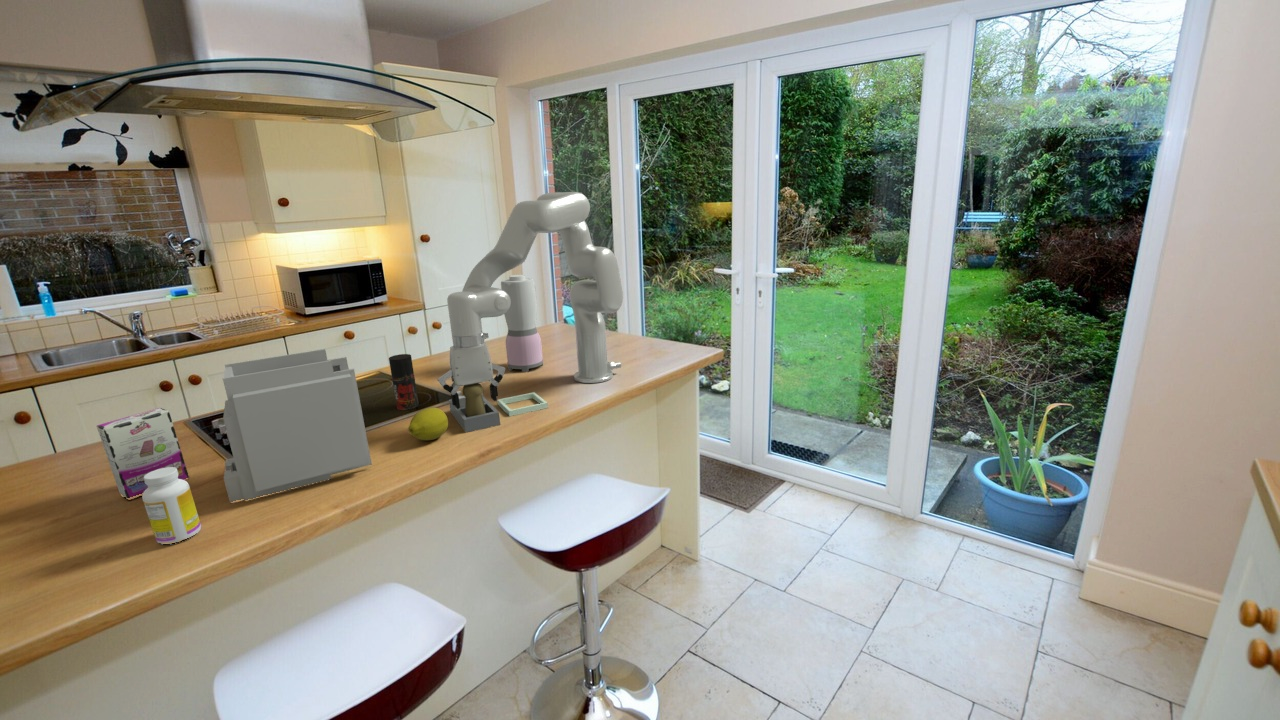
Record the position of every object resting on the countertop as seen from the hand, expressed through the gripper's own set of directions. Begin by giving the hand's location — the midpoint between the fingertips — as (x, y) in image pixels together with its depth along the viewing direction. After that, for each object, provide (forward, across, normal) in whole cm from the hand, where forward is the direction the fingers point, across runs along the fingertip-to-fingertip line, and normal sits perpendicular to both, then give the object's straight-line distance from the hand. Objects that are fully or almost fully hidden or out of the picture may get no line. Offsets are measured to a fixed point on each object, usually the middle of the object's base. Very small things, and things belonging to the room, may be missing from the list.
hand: (475, 403), depth 152 cm
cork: (+6, 0, 0) cm, 6 cm away
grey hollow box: (+6, 0, -4) cm, 7 cm away
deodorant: (+6, +14, -25) cm, 29 cm away
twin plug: (+6, 0, -8) cm, 10 cm away
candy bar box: (+6, +69, -4) cm, 69 cm away
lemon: (+6, +13, +4) cm, 15 cm away
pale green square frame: (+6, -14, -5) cm, 16 cm away
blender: (+6, -29, -43) cm, 52 cm away
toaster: (+6, +40, +8) cm, 41 cm away
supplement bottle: (+6, +61, +23) cm, 65 cm away
